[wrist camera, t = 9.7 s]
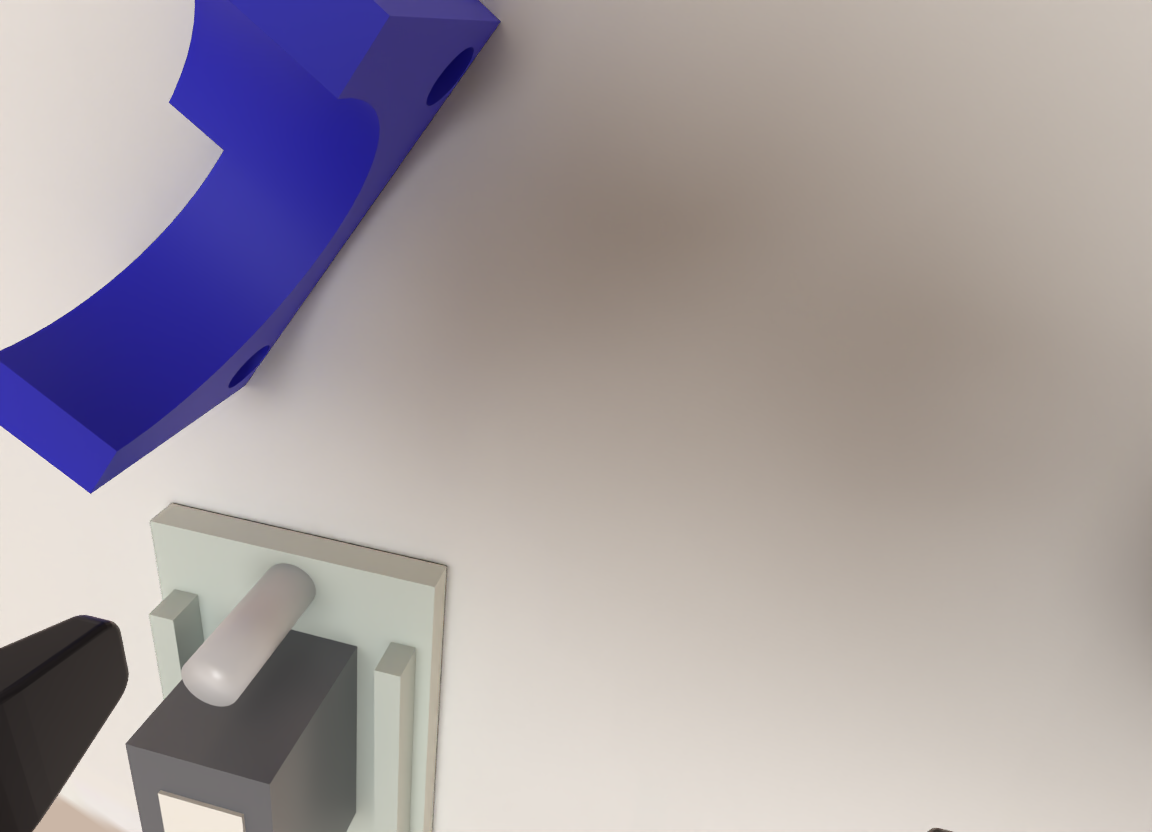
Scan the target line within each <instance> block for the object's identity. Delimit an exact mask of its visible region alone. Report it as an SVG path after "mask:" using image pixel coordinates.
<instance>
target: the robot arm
mask: <svg viewBox="0 0 1152 832" xmlns="http://www.w3.org/2000/svg"><path fill="white" fill-rule="evenodd" d="M128 675H129V673H128V667H127V662H126V657H125V652H124V647H123V642H122V637H121V632H120V629H119V627H118V626H117V625H116V624H115V623H114V622H112V621H109V620H105V619H101V618H97V617H93V616H88V615H79V616H75V617H72V618H70V619H67V620H65V621H63V622H60V623H58V624H56V625H53V626H51V627H49V628H46V629H44V630H42V631H39V632H37V633H35V634H32V635H30V636H28V637H25V638H23V639H21V640H18V641H16V642H14V643H11V644H9V645H7V646H4V647H2V648H0V832H32V831H33V830H34V829H35V827H36V826H37V825H38V823H39V822H40V821H41V819H42V818H43V816H44V815H45V813H46V812H47V810H48V809H49V807H50V806H51V805H52V803H53V802H54V800H55V799H56V797H57V796H58V794H59V793H60V791H61V790H62V788H63V786H64V785H65V783H66V782H67V780H68V779H69V777H70V776H71V774H72V773H73V771H74V769H75V768H76V766H77V765H78V763H79V762H80V760H81V759H82V757H83V756H84V754H85V752H86V751H87V749H88V748H89V746H90V745H91V743H92V742H93V740H94V739H95V737H96V735H97V734H98V732H99V731H100V729H101V728H102V726H103V725H104V723H105V722H106V720H107V718H108V717H109V715H110V714H111V712H112V711H113V709H114V708H115V706H116V705H117V703H118V701H119V700H120V698H121V697H122V695H123V693H124V691H125V688H126V685H127V682H128ZM928 832H952V831H948V830H944V829H940V828H933V829H931V830H929V831H928Z"/></svg>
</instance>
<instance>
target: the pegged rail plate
mask: <svg viewBox="0 0 1152 832" xmlns="http://www.w3.org/2000/svg"><path fill="white" fill-rule="evenodd" d="M150 526H151V532H152V539H153V545H154V551H155V557H156V563H157V569H158V576H159V582H160V588H161V594H162V600H163V601H162V602H161V603H160V604H159V605H158V606H157V607H156V608H155V609H154V610H153V611H152V612H151V613H150V614H149V619H150V624H151V630H152V636H153V642H154V647H155V653H156V659H157V664H158V670H159V676H160V682H161V687H162V693H163V699H165V698H166V697H167V696H168V695H169V694H170V692H171V691H172V690H173V689H174V688H175V687H176V686H177V684H178V683H179V682H180V681H181V680H183V682H184V684H185V686H186V687H187V689H188V690H189V691H190V692H191V693H192V694H193V695H194V696H195V697H197V698H198V699H200V700H201V701H203V702H205V703H208V704H210V705H214V706H229V705H231V704H233V703H235V702H236V700H237V699H238V698H239V697H240V695H241V694H242V693H243V691H244V690H245V689H246V687H247V686H248V685H249V683H250V682H251V681H252V680H253V678H254V677H255V676H256V674H257V673H258V672H259V670H260V669H261V668H262V666H263V665H264V664H265V663H266V661H267V660H268V659H269V657H270V656H271V655H272V653H273V652H274V651H275V649H276V648H277V647H278V646H279V644H280V643H281V642H282V640H283V639H284V638H285V636H286V635H287V634H288V632H289V631H290V630H291V629H292V630H295V631H299V632H303V633H307V634H311V635H315V636H319V637H323V638H327V639H331V640H334V641H338V642H342V643H346V644H350V645H354V646H357V764H356V814H355V816H354V818H353V820H352V822H351V824H350V826H349V828H348V830H347V832H432V821H433V803H434V785H435V767H436V749H437V731H438V713H439V695H440V677H441V659H442V641H443V623H444V605H445V587H446V569H447V566H444V565H439V564H435V563H431V562H426V561H422V560H418V559H413V558H409V557H404V556H400V555H396V554H391V553H387V552H383V551H378V550H374V549H369V548H365V547H361V546H356V545H352V544H348V543H343V542H339V541H334V540H330V539H326V538H321V537H317V536H313V535H308V534H304V533H299V532H295V531H291V530H286V529H282V528H278V527H273V526H269V525H264V524H260V523H256V522H251V521H247V520H243V519H238V518H234V517H229V516H225V515H221V514H216V513H212V512H208V511H203V510H199V509H194V508H190V507H186V506H181V505H177V504H173V503H171V504H170V505H169V506H167V507H166V508H165V509H164V510H162V511H161V512H160V513H159V514H158V515H156V516H155V517H154V518H153V519H151V520H150Z"/></svg>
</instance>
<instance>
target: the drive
mask: <svg viewBox="0 0 1152 832" xmlns="http://www.w3.org/2000/svg"><path fill="white" fill-rule="evenodd" d="M126 749H127V754H128V759H129V764H130V769H131V775H132V780H133V785H134V790H135V795H136V800H137V805H138V810H139V816H140V821H141V826H142V831H143V832H347V830H348V828H349V826H350V824H351V822H352V820H353V818H354V816H355V814H356V764H357V646H354V645H350V644H346V643H342V642H338V641H334V640H331V639H327V638H323V637H319V636H315V635H311V634H307V633H303V632H299V631H295V630H292V629H291V630H290V631H289V632H288V634H287V635H286V636H285V638H284V639H283V640H282V642H281V643H280V644H279V646H278V647H277V648H276V649H275V651H274V652H273V653H272V655H271V656H270V657H269V659H268V660H267V661H266V663H265V664H264V665H263V666H262V668H261V669H260V670H259V672H258V673H257V674H256V676H255V677H254V678H253V680H252V681H251V682H250V683H249V685H248V686H247V687H246V689H245V690H244V691H243V693H242V694H241V695H240V697H239V698H238V699H237V700H236V702H235V703H233V704H231V705H229V706H214V705H210V704H208V703H205V702H203V701H201V700H200V699H198V698H197V697H195V696H194V695H193V694H192V693H191V692H190V691H189V690H188V689H187V687H186V686H185V684H184V682H183V680H181V681H180V682H179V683H178V684H177V686H176V687H175V688H174V689H173V690H172V691H171V692H170V694H169V695H168V696H167V697H166V698H165V699H164V700H163V702H162V703H161V704H160V705H159V706H158V707H157V708H156V710H155V711H154V712H153V713H152V714H151V715H150V716H149V718H148V719H147V720H146V721H145V722H144V723H143V724H142V726H141V727H140V728H139V729H138V730H137V731H136V732H135V734H134V735H133V736H132V737H131V738H130V739H129V740H128V742H127V743H126Z"/></svg>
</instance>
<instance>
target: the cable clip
mask: <svg viewBox="0 0 1152 832" xmlns="http://www.w3.org/2000/svg"><path fill="white" fill-rule="evenodd" d="M500 22H501V21H500V20H499V19H497V18H496V17H495V16H494V15H493V14H492V13H491V12H490V11H489V10H488V9H487V8H486V7H485V6H484V5H483V4H482V3H481V2H480V1H479V0H195V15H194V26H193V32H192V38H191V43H190V47H189V51H188V55H187V59H186V62H185V65H184V68H183V70H182V73H181V76H180V79H179V81H178V83H177V86H176V88H175V90H174V93H173V95H172V97H171V99H170V101H169V103H170V104H171V105H172V106H174V107H175V108H176V109H177V110H178V111H179V112H180V113H182V114H183V115H184V116H185V117H186V118H187V119H189V120H190V121H191V122H192V123H193V124H194V125H195V126H197V127H198V128H199V129H200V130H201V131H202V132H204V133H205V134H206V135H207V136H208V137H209V138H210V139H212V140H213V141H214V142H215V143H216V144H217V145H219V146H220V147H221V148H222V149H223V150H224V151H223V153H222V154H221V156H220V158H219V159H218V161H217V163H216V164H215V166H214V167H213V169H212V170H211V172H210V174H209V175H208V177H207V178H206V179H205V181H204V182H203V184H202V185H201V186H200V188H199V189H198V191H197V192H196V193H195V195H194V196H193V197H192V198H191V200H190V201H189V202H188V204H187V205H186V206H185V207H184V209H183V210H182V211H181V212H180V213H179V215H178V216H177V217H176V218H175V219H174V220H173V222H172V223H171V224H170V225H169V226H168V227H167V228H166V229H165V230H164V231H163V233H162V234H161V235H160V236H159V237H158V238H157V239H156V240H155V241H154V242H153V243H152V244H151V245H150V246H149V247H148V248H147V249H146V250H145V251H144V252H143V253H142V254H141V255H140V256H139V257H138V258H137V259H136V260H134V261H133V262H132V263H131V264H130V265H129V266H128V267H127V268H126V269H125V270H123V271H122V272H121V273H120V274H119V275H117V276H116V277H115V278H114V279H113V280H112V281H110V282H109V283H108V284H107V285H105V286H104V287H103V288H102V289H100V290H99V291H98V292H96V293H95V294H94V295H93V296H91V297H90V298H89V299H87V300H86V301H84V302H83V303H82V304H80V305H79V306H77V307H76V308H75V309H73V310H72V311H70V312H69V313H67V314H66V315H64V316H63V317H61V318H59V319H58V320H56V321H55V322H53V323H52V324H50V325H48V326H47V327H45V328H43V329H41V330H40V331H38V332H36V333H35V334H33V335H31V336H29V337H27V338H25V339H23V340H21V341H19V342H18V343H16V344H14V345H12V346H10V347H7V348H5V349H3V350H1V351H0V426H2V427H3V428H4V429H6V430H7V431H8V432H10V433H11V434H12V435H14V436H15V437H16V438H18V439H19V440H20V441H22V442H23V443H24V444H26V445H27V446H28V447H30V448H31V449H32V450H34V451H35V452H36V453H38V454H39V455H40V456H41V457H43V458H44V459H45V460H47V461H48V462H49V463H51V464H52V465H53V466H55V467H56V468H57V469H59V470H60V471H61V472H63V473H64V474H65V475H67V476H68V477H69V478H71V479H72V480H73V481H75V482H76V483H77V484H79V485H80V486H81V487H83V488H84V489H85V490H87V491H88V492H89V493H90V494H91V493H92V492H94V491H95V490H97V489H98V488H99V487H101V486H102V485H104V484H105V483H107V482H108V481H109V480H111V479H112V478H114V477H115V476H117V475H118V474H119V473H121V472H122V471H124V470H125V469H127V468H128V467H129V466H131V465H132V464H134V463H135V462H137V461H138V460H139V459H141V458H142V457H144V456H145V455H147V454H148V453H149V452H151V451H152V450H154V449H155V448H157V447H158V446H159V445H161V444H162V443H164V442H165V441H167V440H168V439H169V438H171V437H172V436H174V435H175V434H177V433H178V432H179V431H181V430H182V429H184V428H185V427H187V426H188V425H189V424H191V423H192V422H194V421H195V420H196V419H198V418H199V417H201V416H202V415H204V414H205V413H206V412H208V411H209V410H211V409H212V408H214V407H215V406H216V405H218V404H219V403H221V402H222V401H224V400H225V399H226V398H228V397H229V396H231V395H232V394H234V393H235V392H236V391H238V390H239V389H241V388H242V387H244V386H245V385H246V383H247V382H248V380H249V379H250V378H251V376H252V375H253V373H254V372H255V370H256V369H257V368H258V366H259V365H260V363H261V362H262V361H263V359H264V358H265V356H266V355H267V353H268V352H269V351H270V349H271V348H272V346H273V345H274V343H275V342H276V341H277V339H278V338H279V336H280V335H281V333H282V332H283V331H284V329H285V328H286V326H287V325H288V324H289V322H290V321H291V319H292V318H293V316H294V315H295V314H296V312H297V311H298V309H299V308H300V306H301V305H302V304H303V302H304V301H305V299H306V298H307V296H308V295H309V294H310V292H311V291H312V289H313V288H314V287H315V285H316V284H317V282H318V281H319V279H320V278H321V277H322V275H323V274H324V272H325V271H326V269H327V268H328V267H329V265H330V264H331V262H332V261H333V259H334V258H335V257H336V255H337V254H338V252H339V251H340V250H341V248H342V247H343V245H344V244H345V242H346V241H347V240H348V238H349V237H350V235H351V234H352V232H353V231H354V230H355V228H356V227H357V225H358V224H359V223H360V221H361V220H362V218H363V217H364V215H365V214H366V213H367V211H368V210H369V208H370V207H371V205H372V204H373V203H374V201H375V200H376V198H377V197H378V195H379V194H380V193H381V191H382V190H383V188H384V187H385V186H386V184H387V183H388V181H389V180H390V178H391V177H392V176H393V174H394V173H395V171H396V170H397V168H398V167H399V166H400V164H401V163H402V161H403V160H404V158H405V157H406V156H407V154H408V153H409V151H410V150H411V149H412V147H413V146H414V144H415V143H416V141H417V140H418V139H419V137H420V136H421V134H422V133H423V131H424V130H425V129H426V127H427V126H428V124H429V123H430V122H431V120H432V119H433V117H434V116H435V114H436V113H437V112H438V110H439V109H440V107H441V106H442V104H443V103H444V102H445V100H446V99H447V97H448V96H449V94H450V93H451V92H452V90H453V89H454V87H455V86H456V85H457V83H458V82H459V80H460V79H461V77H462V76H463V75H464V73H465V72H466V70H467V69H468V67H469V66H470V65H471V63H472V62H473V60H474V59H475V57H476V56H477V55H478V53H479V52H480V50H481V49H482V48H483V46H484V45H485V43H486V42H487V40H488V39H489V38H490V36H491V35H492V33H493V32H494V30H495V29H496V28H497V26H498V25H499V23H500Z"/></svg>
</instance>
